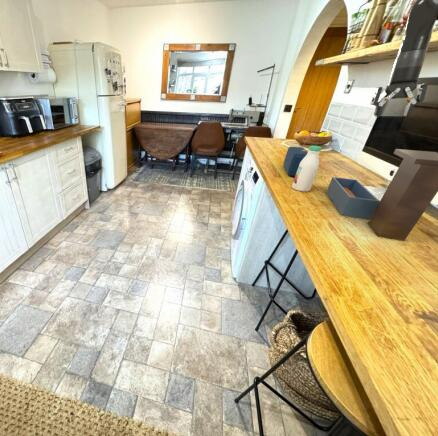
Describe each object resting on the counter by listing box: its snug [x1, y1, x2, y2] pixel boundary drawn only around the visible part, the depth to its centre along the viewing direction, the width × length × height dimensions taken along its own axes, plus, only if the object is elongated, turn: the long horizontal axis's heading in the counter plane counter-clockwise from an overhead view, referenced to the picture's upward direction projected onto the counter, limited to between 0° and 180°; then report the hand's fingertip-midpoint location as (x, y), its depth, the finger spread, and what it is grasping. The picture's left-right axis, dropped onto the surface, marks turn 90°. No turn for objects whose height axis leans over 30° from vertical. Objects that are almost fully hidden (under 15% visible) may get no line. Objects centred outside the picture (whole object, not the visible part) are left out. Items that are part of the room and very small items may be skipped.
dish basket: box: [325, 176, 380, 220], centre depth 98 cm, size 9×23×8 cm, turn 159°
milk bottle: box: [291, 145, 322, 193], centre depth 109 cm, size 8×8×20 cm
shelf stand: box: [367, 148, 438, 242], centre depth 77 cm, size 10×12×26 cm
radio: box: [282, 137, 308, 178], centre depth 130 cm, size 21×9×20 cm, turn 162°
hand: (391, 116), depth 91 cm, fingers open, 8 cm apart
